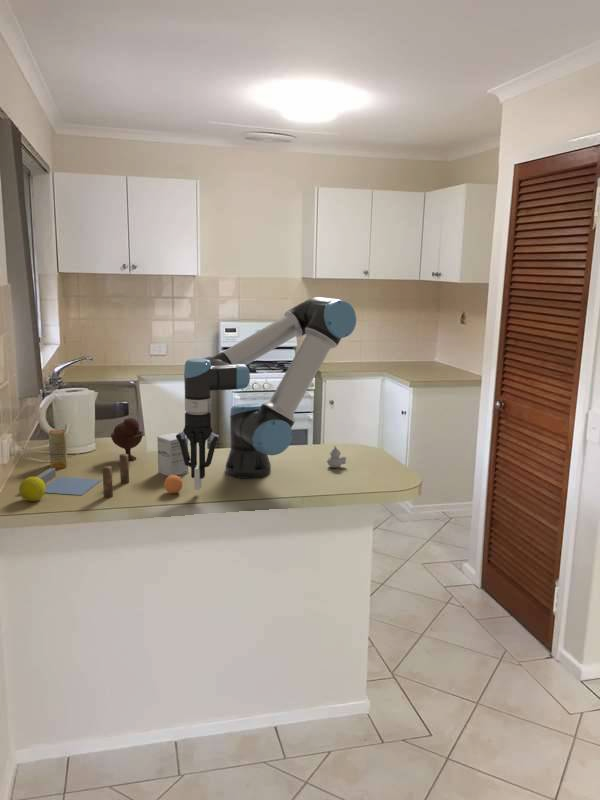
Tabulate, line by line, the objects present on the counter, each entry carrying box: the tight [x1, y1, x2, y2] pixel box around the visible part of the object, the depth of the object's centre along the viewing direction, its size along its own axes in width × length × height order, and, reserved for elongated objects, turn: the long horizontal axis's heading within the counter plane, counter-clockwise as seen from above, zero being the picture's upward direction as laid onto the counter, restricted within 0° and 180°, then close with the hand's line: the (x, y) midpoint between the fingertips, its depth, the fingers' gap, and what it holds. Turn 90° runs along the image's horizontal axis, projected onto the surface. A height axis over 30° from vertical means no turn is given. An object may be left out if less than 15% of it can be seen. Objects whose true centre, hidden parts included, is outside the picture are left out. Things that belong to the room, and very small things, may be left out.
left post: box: [102, 465, 114, 499], centre depth 193 cm, size 3×3×9 cm
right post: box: [119, 453, 130, 485], centre depth 205 cm, size 3×3×9 cm
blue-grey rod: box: [35, 467, 57, 484], centre depth 203 cm, size 2×16×2 cm, turn 173°
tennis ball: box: [18, 476, 46, 502], centre depth 189 cm, size 7×7×7 cm
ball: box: [163, 475, 184, 494], centre depth 197 cm, size 6×6×6 cm
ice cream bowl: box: [110, 417, 144, 462], centre depth 228 cm, size 11×11×15 cm
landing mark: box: [44, 476, 103, 496], centre depth 202 cm, size 14×14×1 cm
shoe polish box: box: [48, 429, 68, 469], centre depth 220 cm, size 5×5×12 cm
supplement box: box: [156, 432, 189, 477], centre depth 215 cm, size 7×7×13 cm
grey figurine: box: [326, 445, 347, 469], centre depth 224 cm, size 5×7×8 cm
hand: (198, 488), depth 196 cm, fingers closed
